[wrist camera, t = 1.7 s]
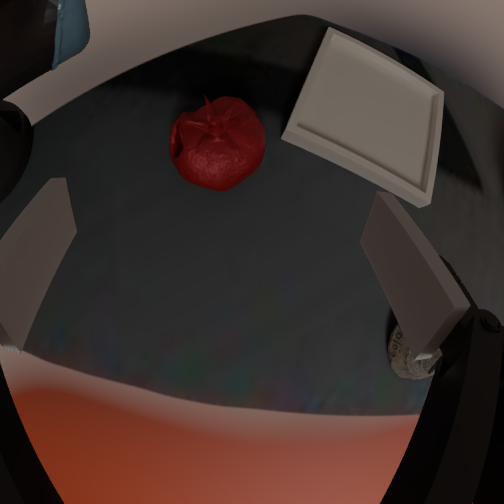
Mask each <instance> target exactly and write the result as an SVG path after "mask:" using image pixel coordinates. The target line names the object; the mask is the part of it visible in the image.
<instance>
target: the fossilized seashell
mask: <svg viewBox="0 0 504 504" xmlns="http://www.w3.org/2000/svg"><path fill="white" fill-rule="evenodd" d="M388 355H389V360H390V365H391V369H392V371H394V372H395V373H396V374H397V375H398V376H399V377H403V378H411V379H413V380H415V379H421V378H425V377H428V376H433V375H434V372H435V370H433V371H432V372H431V374H428V371H429V370H430V368H431V367H432V366H433V365H434V364H435V363H436V361H437V360H438V359H439V358H440V357H441V356H442V352H441V350H440V348H438V349H437V351H436V352H435V353H434V354H433V356H432V357H431V358H427V359H421V360H415V361H414V359H413V357H412V354H411V352H410V349H409V347H408V344H407V342H406V340H405V337H404V335H403V333H402V330H401V328H400V326H399V324H398V323H397V324H396V326H395V328H394V329H393V330H392V332H391V335H390V339H389V344H388Z"/></svg>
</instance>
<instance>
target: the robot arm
mask: <svg viewBox="0 0 504 504" xmlns="http://www.w3.org/2000/svg"><path fill="white" fill-rule="evenodd" d="M89 38H90V29H89V21H88V15H87V9H86V3H85V0H0V202H1V201H2V200H4V199H5V198H6V197H7V196H8V194H9V193H10V192H11V191H12V190H13V188H14V187H15V185H16V184H17V182H18V181H19V179H20V177H21V176H22V174H23V172H24V169H25V167H26V165H27V162H28V159H29V156H30V152H31V147H32V128H31V124H30V121H29V119H28V117H27V116H26V115H25V114H24V112H23V111H22V110H21V109H20V108H19V107H18V106H16V105H15V104H13V103H11V102H7V101H4V100H3V99H4V98H5V97H7V96H8V95H10V94H11V93H13V92H15V91H16V90H18V89H19V88H21V87H22V86H24V85H26V84H27V83H29V82H31V81H32V80H34V79H36V78H37V77H39V76H41V75H43V74H44V73H46V72H48V71H50V70H54V69H55V68H57V66H58V65H59V64H61V63H62V62H64V61H66V60H68V59H69V58H71V57H73V56H75V55H77V54H79V53H80V52H81V51H82V50H83V49H84V48H85V47H86V45H87V44H88V41H89ZM76 232H77V230H76V226H75V222H74V217H73V213H72V208H71V204H70V199H69V194H68V189H67V183H66V178H50V180H49V181H48V182H47V183H46V184H45V185H44V186H43V187H42V189H41V190H40V191H39V192H38V193H37V194H36V196H35V197H34V198H33V199H32V200H31V202H30V203H29V204H28V205H27V206H26V208H25V209H24V210H23V211H22V213H21V214H20V215H19V216H18V218H17V219H16V220H15V221H14V223H13V224H12V225H11V227H10V228H9V229H8V231H7V232H6V233H5V235H4V236H3V237H2V239H1V240H0V344H1V346H2V347H3V348H4V349H5V350H9V351H13V352H19V353H21V351H22V348H23V346H24V343H25V340H26V338H27V335H28V333H29V330H30V328H31V325H32V323H33V320H34V318H35V316H36V313H37V311H38V309H39V306H40V304H41V302H42V300H43V298H44V295H45V293H46V291H47V289H48V287H49V285H50V283H51V280H52V278H53V276H54V274H55V272H56V270H57V268H58V266H59V264H60V262H61V260H62V258H63V257H64V255H65V253H66V251H67V249H68V247H69V245H70V243H71V242H72V240H73V238H74V236H75V234H76ZM360 244H361V246H362V248H363V250H364V252H365V254H366V256H367V258H368V260H369V262H370V264H371V266H372V268H373V270H374V272H375V274H376V276H377V278H378V280H379V282H380V284H381V286H382V289H383V291H384V293H385V295H386V297H387V299H388V301H389V304H390V306H391V308H392V310H393V312H394V315H395V317H396V319H397V321H398V324H399V326H400V328H401V330H402V333H403V335H404V337H405V340H406V342H407V344H408V347H409V349H410V352H411V354H412V357H413V359H414V361H415V360H421V359H427V358H431V357H432V356H433V354H434V353H435V352H436V351H437V349H438V348H440V350H441V352H442V356H441V357H440V358H439V359H438V360H437V361H436V363H435V364H434V365H433V366H432V367H431V368H430V370H429V371H428V374H431V372H432V371H433V370H435V372H434V375H433V379H432V382H431V385H430V388H429V391H428V394H427V397H426V400H425V403H424V406H423V409H422V411H421V414H420V417H419V420H418V423H417V425H416V427H415V430H414V433H413V435H412V437H411V440H410V442H409V445H408V447H407V449H406V451H405V454H404V456H403V458H402V460H401V463H400V465H399V467H398V469H397V471H396V474H395V475H394V478H393V479H392V481H391V483H390V485H389V487H388V489H387V491H386V493H385V495H384V497H383V499H382V501H381V502H380V504H472V503H473V504H504V326H502V325H501V323H500V321H499V320H498V318H497V317H496V316H495V315H494V314H492V313H491V312H490V311H487V310H485V309H478V307H477V305H476V304H475V302H474V300H473V299H472V297H471V296H470V294H469V292H468V291H467V289H466V288H465V286H464V285H463V283H461V280H460V279H459V277H458V276H457V275H456V273H455V271H454V270H453V268H452V267H451V265H450V264H449V263H448V262H447V261H446V260H445V259H444V258H443V257H441V256H440V255H438V254H437V253H436V251H435V250H434V248H433V247H432V246H431V244H430V243H429V241H428V240H427V239H426V237H425V236H424V234H423V233H422V232H421V230H420V229H419V228H418V226H417V225H416V224H415V222H414V221H413V220H412V219H411V217H410V216H409V215H408V213H407V212H406V211H405V210H404V208H403V207H402V206H401V204H400V203H399V202H398V201H397V199H396V198H395V197H394V196H393V195H392V193H386V192H378V191H377V192H376V195H375V198H374V201H373V204H372V207H371V210H370V213H369V216H368V219H367V222H366V225H365V228H364V231H363V234H362V236H361V239H360ZM0 504H64V502H63V501H62V499H61V497H60V496H59V494H58V493H57V491H56V489H55V487H54V486H53V484H52V482H51V480H50V479H49V477H48V475H47V473H46V472H45V470H44V468H43V466H42V464H41V462H40V460H39V458H38V456H37V454H36V452H35V450H34V448H33V446H32V444H31V442H30V440H29V438H28V436H27V434H26V431H25V429H24V426H23V424H22V422H21V419H20V417H19V414H18V412H17V410H16V407H15V405H14V402H13V399H12V397H11V394H10V391H9V388H8V385H7V382H6V379H5V376H4V373H3V370H2V367H1V364H0Z"/></svg>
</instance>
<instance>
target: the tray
mask: <svg viewBox="0 0 504 504" xmlns="http://www.w3.org/2000/svg"><path fill="white" fill-rule="evenodd" d="M443 102H444V92H443V91H442V90H440V89H439V88H437V87H436V86H434V85H433V84H431V83H430V82H428V81H427V80H425V79H424V78H422V77H421V76H419V75H418V74H416V73H415V72H413V71H411V70H410V69H408V68H407V67H405V66H403V65H402V64H400V63H398V62H397V61H395V60H393V59H391V58H390V57H388V56H386V55H384V54H383V53H381V52H379V51H377V50H375V49H373V48H372V47H370V46H368V45H366V44H364V43H362V42H360V41H358V40H356V39H354V38H352V37H350V36H348V35H346V34H344V33H341V32H339V31H337V30H335V29H333V28H330V27H329V28H328V30H327V32H326V34H325V36H324V38H323V40H322V42H321V45H320V47H319V49H318V52H317V54H316V56H315V59H314V61H313V63H312V66H311V68H310V70H309V73H308V75H307V77H306V80H305V82H304V84H303V87H302V89H301V91H300V94H299V96H298V99H297V101H296V103H295V106H294V108H293V110H292V113H291V115H290V118H289V120H288V122H287V125H286V127H285V130H284V132H283V134H282V137H281V139H282V140H285V141H287V142H289V143H292V144H294V145H296V146H298V147H301V148H303V149H305V150H307V151H310V152H312V153H314V154H316V155H318V156H320V157H323V158H325V159H327V160H329V161H331V162H333V163H335V164H337V165H339V166H341V167H343V168H346V169H348V170H350V171H352V172H354V173H356V174H358V175H359V176H361V177H363V178H365V179H367V180H369V181H371V182H373V183H375V184H377V185H379V186H381V187H382V188H384V189H386V190H388V191H390V192H392V193H394V194H395V195H397V196H399V197H401V198H403V199H404V200H406V201H408V202H410V203H411V204H413V205H415V206H417V207H418V208H421V207H423V206H426V205H429V204H430V203H431V198H432V192H433V186H434V180H435V174H436V167H437V160H438V153H439V145H440V136H441V126H442V115H443Z"/></svg>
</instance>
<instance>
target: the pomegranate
mask: <svg viewBox="0 0 504 504" xmlns="http://www.w3.org/2000/svg"><path fill="white" fill-rule="evenodd" d="M204 97H205V94H204ZM205 100H206V105H205V106H203V107H201V108H199V109H198V110H197V111H195V112H183V113H181V114H180V115H179V116H178V118H177V119H176V121H175V122H174V124H173V126H172V129H171V135H170V146H169V152H170V155H171V159H172V162H173V164H174V166H175V167H176V169H177V171H178V172H179V174H180V175H181V176H182V177H183V178H184V179H185V180H187V181H189V182H190V183H192V184H196V185H198V186H201V187H203V188H208V189H212V190H217V191H227V190H229V189H231V188H233V187H234V186H236V185H237V184H239V183H240V182H241V181H243V180H244V179H245V178H246V177H248V176H249V175H251V174H252V173H253V172H255V171H256V169H257V168H258V167H259V166H260V164H261V162H262V159H263V156H264V152H265V147H266V133H265V131H264V127H263V125H262V123H261V121H260V120H259V118H258V117H257V115H256V113H255V112H254V110H253V109H252V108H251V107H250V106H248V105H247V104H246V103H245V102H244V101H243V100H242V99H240V98H234V97H227V96H223V97H220V98H217V99H216V100H214V101H213V102H212V103H209V101H208V100H207V98H206V97H205Z"/></svg>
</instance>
